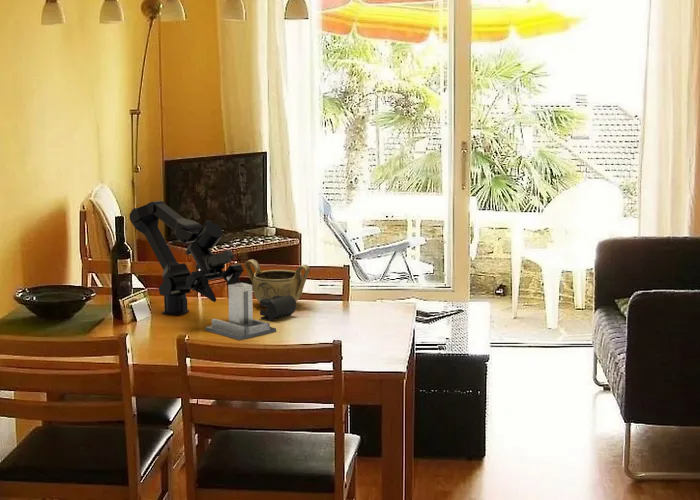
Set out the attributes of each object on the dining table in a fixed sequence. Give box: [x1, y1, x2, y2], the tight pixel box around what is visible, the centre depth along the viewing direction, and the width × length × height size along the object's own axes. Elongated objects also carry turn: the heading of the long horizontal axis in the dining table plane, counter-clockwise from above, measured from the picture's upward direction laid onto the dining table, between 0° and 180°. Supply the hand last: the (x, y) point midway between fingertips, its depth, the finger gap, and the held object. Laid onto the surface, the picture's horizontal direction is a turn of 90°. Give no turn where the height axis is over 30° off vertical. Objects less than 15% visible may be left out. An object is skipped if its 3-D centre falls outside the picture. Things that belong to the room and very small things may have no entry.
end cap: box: [259, 295, 297, 322], centre depth 319 cm, size 10×7×7 cm
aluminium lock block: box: [227, 282, 254, 327], centre depth 302 cm, size 5×5×13 cm
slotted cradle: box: [204, 318, 277, 341], centre depth 303 cm, size 16×14×3 cm
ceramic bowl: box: [244, 258, 311, 303], centre depth 334 cm, size 22×17×15 cm
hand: (227, 298), depth 306 cm, fingers open, 9 cm apart
